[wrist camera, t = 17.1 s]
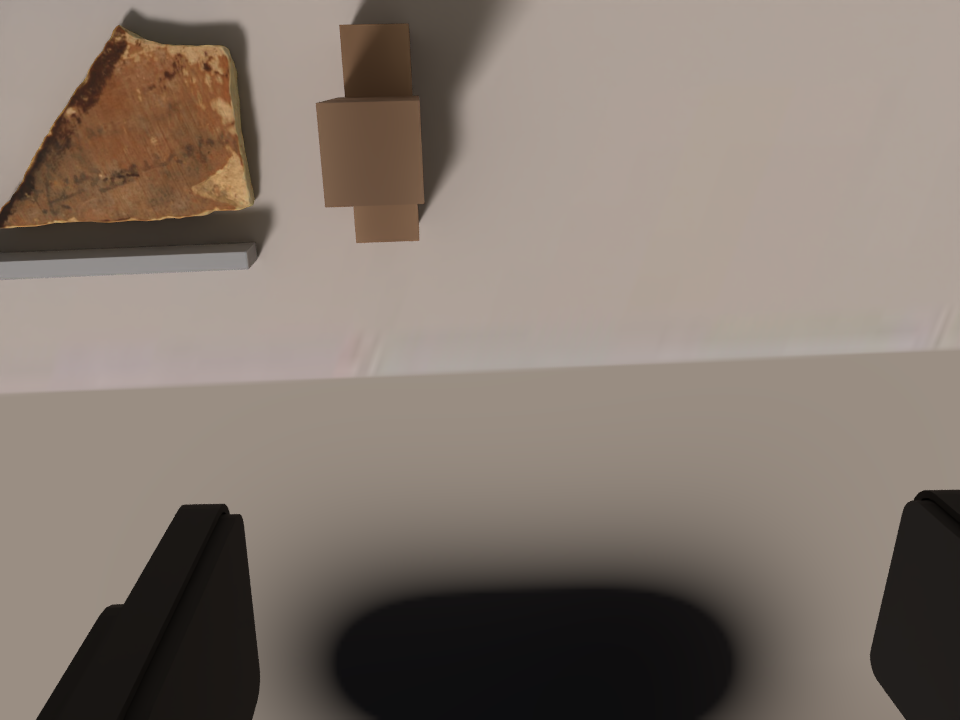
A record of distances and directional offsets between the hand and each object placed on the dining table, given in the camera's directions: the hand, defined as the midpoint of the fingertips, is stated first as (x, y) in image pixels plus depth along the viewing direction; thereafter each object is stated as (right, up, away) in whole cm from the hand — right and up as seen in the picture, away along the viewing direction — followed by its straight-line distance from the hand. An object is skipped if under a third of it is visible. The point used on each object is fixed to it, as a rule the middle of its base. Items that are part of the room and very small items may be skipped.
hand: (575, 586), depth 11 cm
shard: (-15, +12, +23) cm, 30 cm away
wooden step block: (-5, +13, +23) cm, 27 cm away
